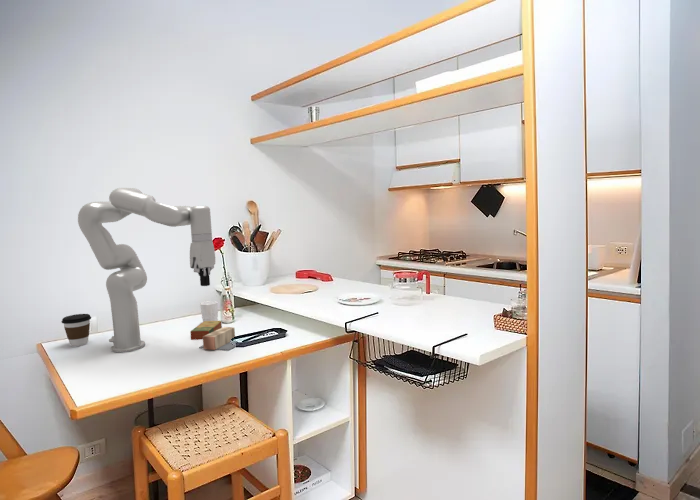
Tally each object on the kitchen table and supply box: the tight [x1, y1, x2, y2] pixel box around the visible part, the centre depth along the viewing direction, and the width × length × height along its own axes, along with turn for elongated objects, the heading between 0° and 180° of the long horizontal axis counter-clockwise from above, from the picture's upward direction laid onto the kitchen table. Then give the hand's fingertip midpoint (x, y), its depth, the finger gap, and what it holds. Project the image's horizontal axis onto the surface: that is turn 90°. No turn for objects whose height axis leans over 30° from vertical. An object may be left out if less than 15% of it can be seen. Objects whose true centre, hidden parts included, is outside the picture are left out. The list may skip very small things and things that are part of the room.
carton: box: [190, 320, 223, 341], centre depth 207 cm, size 8×16×4 cm, turn 176°
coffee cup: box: [60, 313, 92, 347], centre depth 199 cm, size 11×11×12 cm
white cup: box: [199, 300, 219, 322], centre depth 225 cm, size 8×8×10 cm
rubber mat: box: [198, 342, 236, 352], centre depth 192 cm, size 14×16×1 cm
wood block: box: [202, 326, 236, 351], centre depth 189 cm, size 5×5×14 cm
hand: (205, 285), depth 183 cm, fingers closed
